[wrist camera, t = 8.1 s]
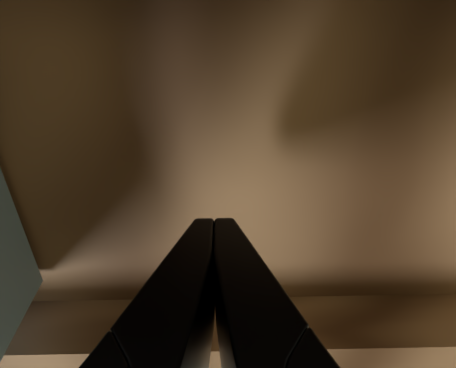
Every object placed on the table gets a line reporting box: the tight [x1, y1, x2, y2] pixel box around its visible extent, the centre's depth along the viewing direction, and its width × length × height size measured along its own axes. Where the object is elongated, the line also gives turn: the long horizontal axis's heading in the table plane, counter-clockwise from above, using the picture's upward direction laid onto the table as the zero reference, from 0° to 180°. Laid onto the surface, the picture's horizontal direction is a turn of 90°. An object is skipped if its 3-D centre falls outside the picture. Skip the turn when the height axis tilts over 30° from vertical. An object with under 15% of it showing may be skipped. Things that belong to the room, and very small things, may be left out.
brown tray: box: [0, 0, 456, 368], centre depth 9 cm, size 24×12×3 cm, turn 90°
